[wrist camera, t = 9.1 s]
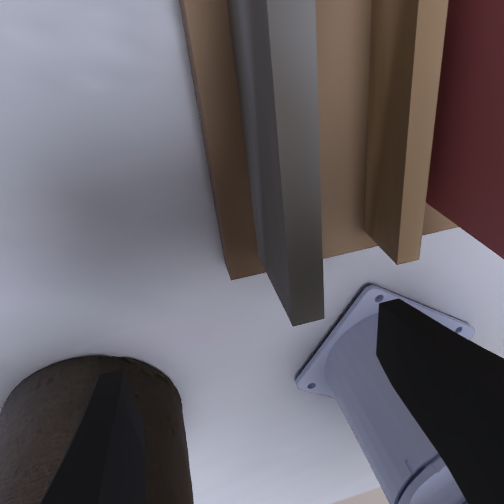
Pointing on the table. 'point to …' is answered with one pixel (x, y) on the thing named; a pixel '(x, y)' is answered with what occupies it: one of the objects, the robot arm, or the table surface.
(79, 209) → the table surface
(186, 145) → the table surface
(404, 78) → the book stand
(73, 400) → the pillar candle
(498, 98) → the book
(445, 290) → the table surface
